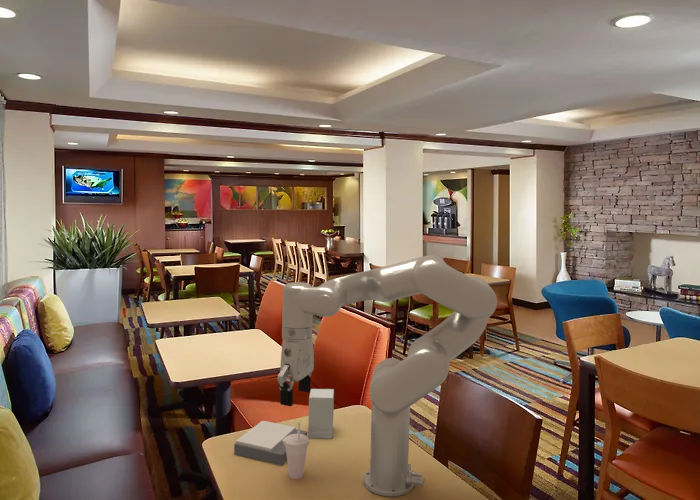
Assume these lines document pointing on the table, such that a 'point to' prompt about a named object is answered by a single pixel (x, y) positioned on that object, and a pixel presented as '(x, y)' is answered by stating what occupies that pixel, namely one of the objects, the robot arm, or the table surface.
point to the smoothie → (296, 453)
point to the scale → (265, 442)
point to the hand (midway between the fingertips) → (295, 398)
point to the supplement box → (321, 413)
